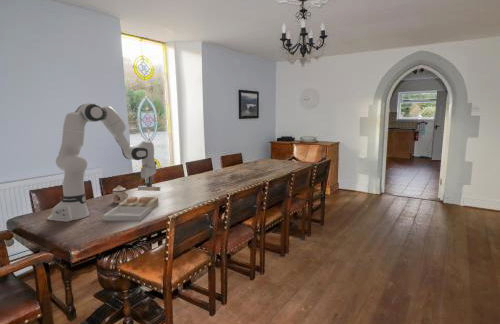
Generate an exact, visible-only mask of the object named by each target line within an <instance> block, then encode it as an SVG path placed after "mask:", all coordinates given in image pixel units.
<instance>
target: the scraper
mask: <svg viewBox="0 0 500 324" xmlns="http://www.w3.org/2000/svg"><path fill="white" fill-rule="evenodd" d="M137 191H144V192H146V191H148V192H149V191H151V192H152V191H153V192H159V191H161V186H160V185H157V186H156V185H153V176H152V177H149V183H146V182H145V185H138V186H137Z"/></svg>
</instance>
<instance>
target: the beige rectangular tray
mask: <svg viewBox="0 0 500 324" xmlns="http://www.w3.org/2000/svg"><path fill="white" fill-rule="evenodd" d="M130 197H131V196H129V197H128V198H130ZM136 197H137V199H138V200H137V201H136V202H127V199H128V198H127V199H126V200H125V201H123V202H121V203H118V206H122V207H151V211H152V210H154V209H155V208H156V207H157V206H159V204H160V203H159V197H158V196H157V197H156V196H154V197H153V196H148V197H149V201H148V202H139V199H140V198H142V197H143V196H136Z"/></svg>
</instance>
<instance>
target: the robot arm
mask: <svg viewBox="0 0 500 324" xmlns="http://www.w3.org/2000/svg"><path fill="white" fill-rule="evenodd" d="M88 122H89V123H91V122H92V123H94V122H102V124H103V125H104V127H106V129H107V130H108V132H109V133H110V134H111V136H113V138H114V140H115V141H116V143H117V144H118V145H119V147H120V149H121V152H122V155H123V157H124V158H125V159H127V160H134V161H140V160H141V168H140V178H141V179H145V184H146V183H149V177H152V178H153V175H155V174H156V173H157V161H156V160H155V146H154V142H152V141H146V140H145V141H144V140H143V141H141V142H140V143H139V144H137V145H135V146H134V145H132V144H130V142H129V140H128V139H127V137H126V135H124V133H125V131H126V129H127V128H126V124H125V121H124V120H123V118H122V117H121V116H120V115H119V113H118V112H117V111H116V110H115V109H114V108H113V107H112V106H109V105H104V106H101V105H99V104H97V103H85V104H81V105H79V106H78V107H77V108H76V110H75V111H74V112H68V113H67V114H66V115H65V118H64V122H63V125H62V126H63V127H62V138H61V144H60V149H59V150H58V151H59V152H58V155H57V157H56V159H55V164H56V167H58V169H60V170H62V171H64V175H63V176H64V177H63V181H62V191H63V195H61V196H59V197H58V198H59V200H60V202H58V203H57V204H56V205H55V206H54V207H52V209H51V214H50V215H49V216H48V217H47V219H46V220H48V221H56V222H67V223H68V222H70V221H71V222H72V221H75V220H81V219H84V218H87V217H89V216H90V211H89V209H88V207H87V203H86V202H87V196H86V195H87V194H86V192H85V184H84V181H85V172H86V169H87V168H88V161H87V160H86V158H84V157H83V156H81V155H80V153H81V149H82V147H83V146H84V142H85V141H84V139H85V127H86V124H87V123H88Z"/></svg>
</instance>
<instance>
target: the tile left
mask: <svg viewBox="0 0 500 324" xmlns="http://www.w3.org/2000/svg"><path fill="white" fill-rule="evenodd" d="M129 197H130V198H129ZM129 197H127V202H136V201H137V200H138V199H137V197H138V196H129Z"/></svg>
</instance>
